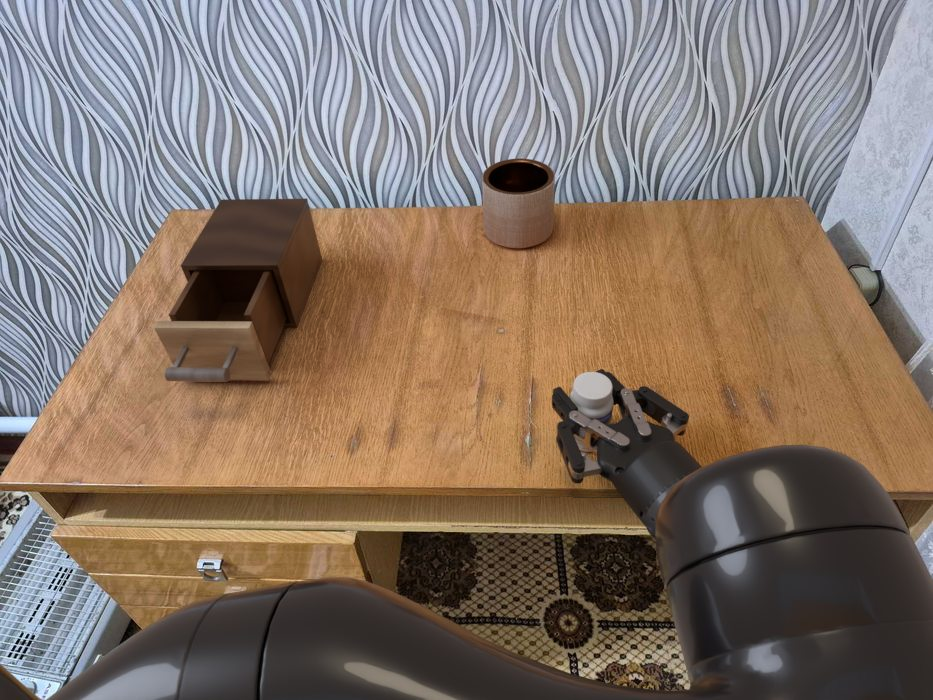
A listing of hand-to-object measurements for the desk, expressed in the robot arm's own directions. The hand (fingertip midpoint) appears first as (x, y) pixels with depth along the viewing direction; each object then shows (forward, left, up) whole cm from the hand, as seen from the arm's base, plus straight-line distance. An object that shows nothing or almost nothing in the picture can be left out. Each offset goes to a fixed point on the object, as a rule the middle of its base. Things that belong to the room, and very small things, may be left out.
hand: (577, 384), depth 71 cm
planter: (+38, +7, -6) cm, 39 cm away
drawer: (+9, +43, -5) cm, 44 cm away
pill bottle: (-2, -1, -6) cm, 7 cm away
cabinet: (+23, +43, -6) cm, 49 cm away
